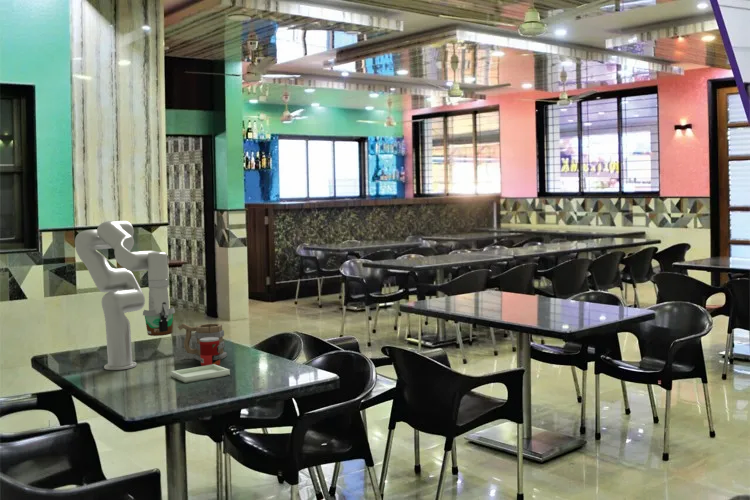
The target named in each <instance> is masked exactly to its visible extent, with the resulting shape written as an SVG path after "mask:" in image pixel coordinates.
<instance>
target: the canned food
mask: <svg viewBox="0 0 750 500" xmlns="http://www.w3.org/2000/svg"><path fill="white" fill-rule="evenodd" d="M200 358H201V361H200V365H201V366H206V365H212V364H215V365H218V366H221V359H220V345H219V338H218V337H206V338H201V339H200Z"/></svg>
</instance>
